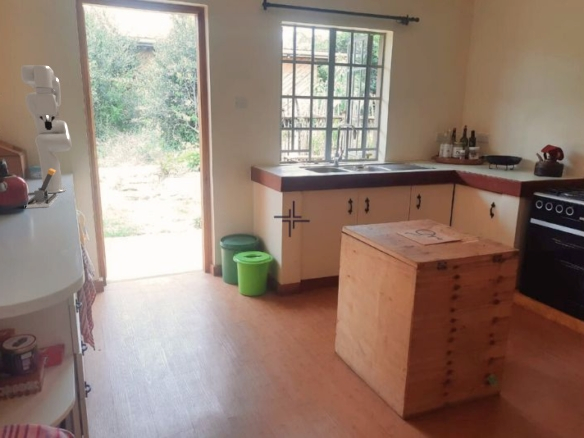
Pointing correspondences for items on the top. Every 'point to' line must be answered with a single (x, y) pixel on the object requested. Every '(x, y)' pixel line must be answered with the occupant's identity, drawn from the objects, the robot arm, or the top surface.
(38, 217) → the top surface
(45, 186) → the lever
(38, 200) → the panel
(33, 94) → the robot arm
